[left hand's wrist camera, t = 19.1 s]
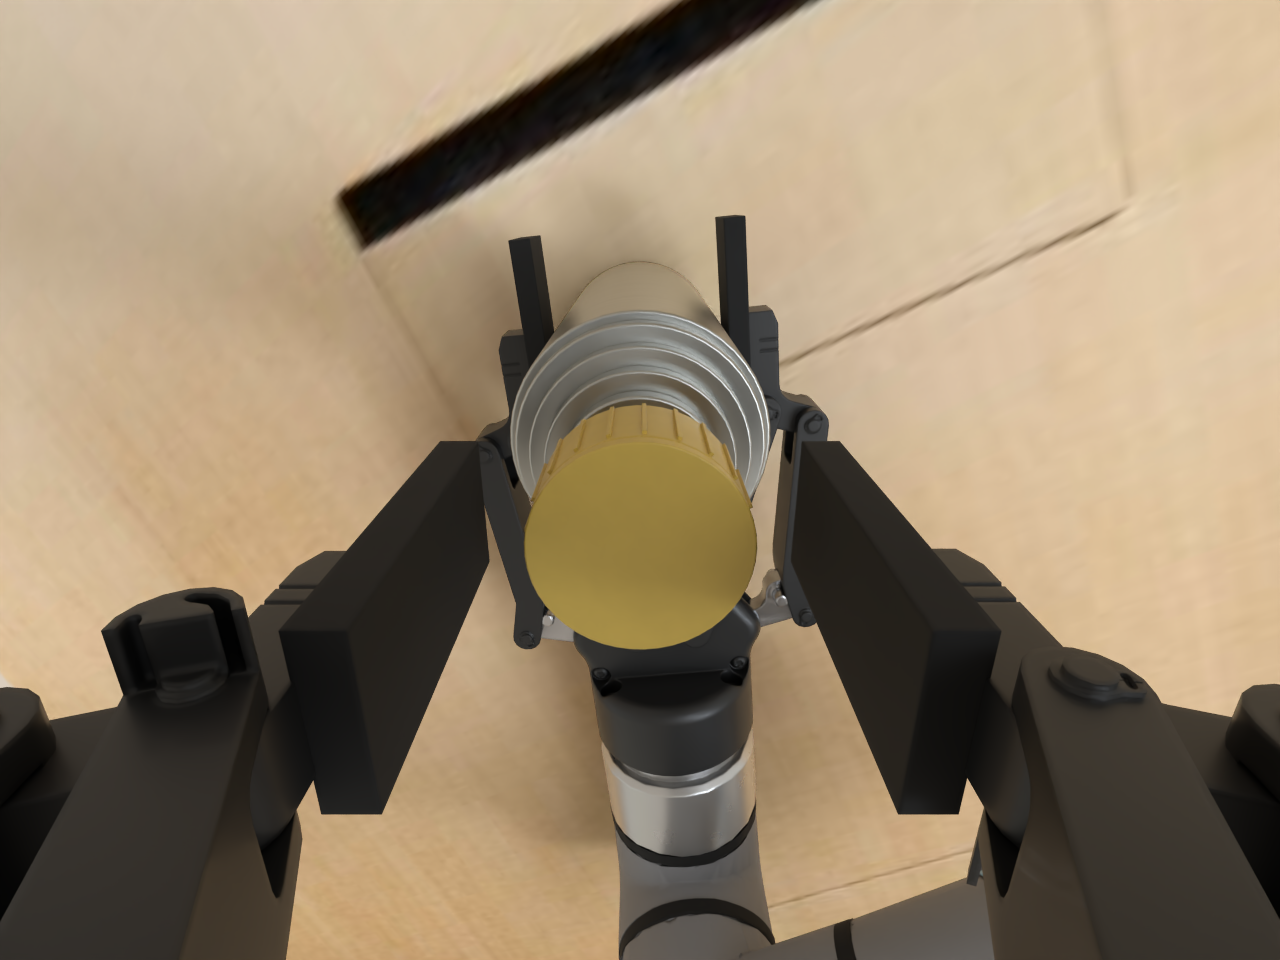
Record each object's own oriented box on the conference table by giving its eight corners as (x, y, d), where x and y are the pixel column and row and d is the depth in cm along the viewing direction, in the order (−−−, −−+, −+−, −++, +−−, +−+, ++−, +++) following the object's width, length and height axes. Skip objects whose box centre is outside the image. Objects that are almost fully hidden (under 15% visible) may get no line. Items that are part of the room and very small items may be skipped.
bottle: (666, 232, 31) (714, 277, 11) (736, 360, 33) (882, 593, 13) (541, 310, 32) (380, 478, 12) (616, 429, 34) (584, 735, 14)
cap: (680, 616, 15) (687, 685, 13) (506, 538, 15) (482, 596, 12) (779, 459, 14) (806, 507, 12) (594, 364, 13) (584, 396, 11)
